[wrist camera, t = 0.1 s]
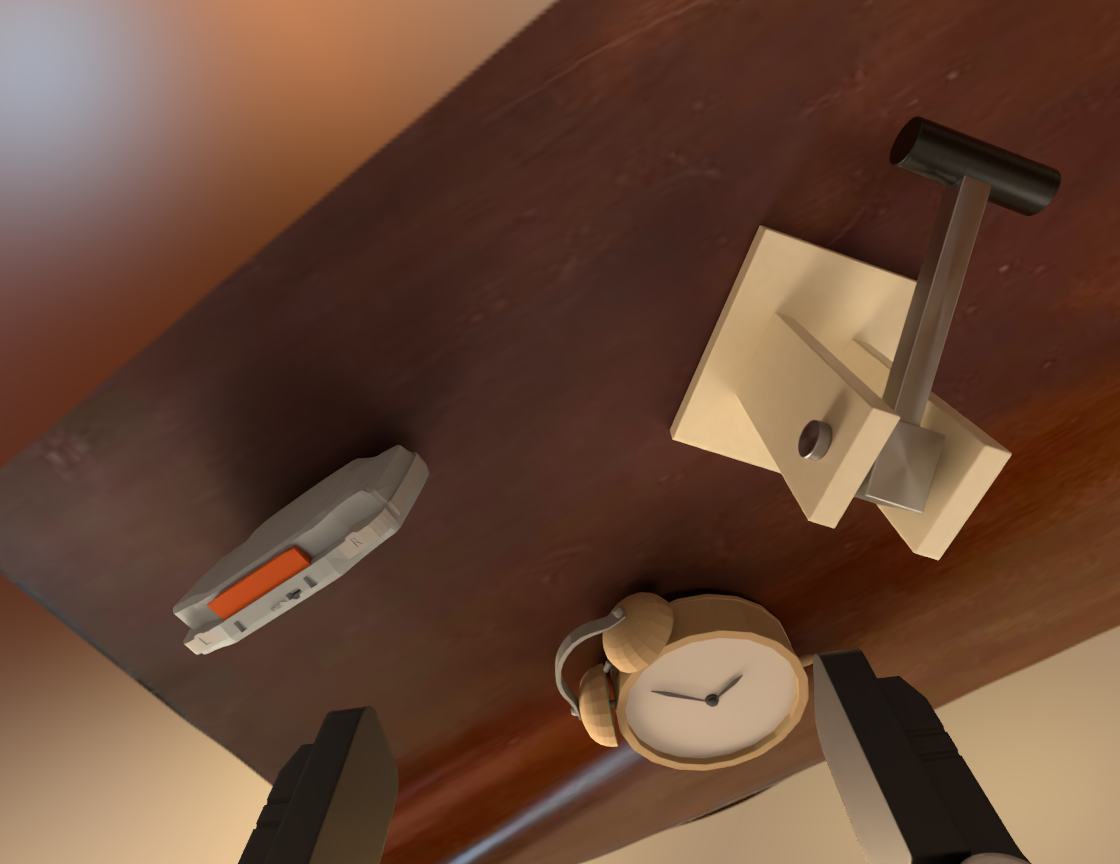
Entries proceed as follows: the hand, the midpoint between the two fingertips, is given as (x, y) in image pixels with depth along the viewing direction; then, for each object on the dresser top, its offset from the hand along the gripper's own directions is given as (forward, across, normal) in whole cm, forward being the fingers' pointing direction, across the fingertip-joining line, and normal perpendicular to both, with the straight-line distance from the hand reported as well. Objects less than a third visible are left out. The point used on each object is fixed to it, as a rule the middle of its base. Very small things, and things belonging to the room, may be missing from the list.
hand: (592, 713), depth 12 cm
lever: (+16, -12, -1) cm, 20 cm away
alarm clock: (+24, -2, +21) cm, 32 cm away
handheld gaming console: (+24, +16, +7) cm, 29 cm away
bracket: (+23, -10, +3) cm, 26 cm away
